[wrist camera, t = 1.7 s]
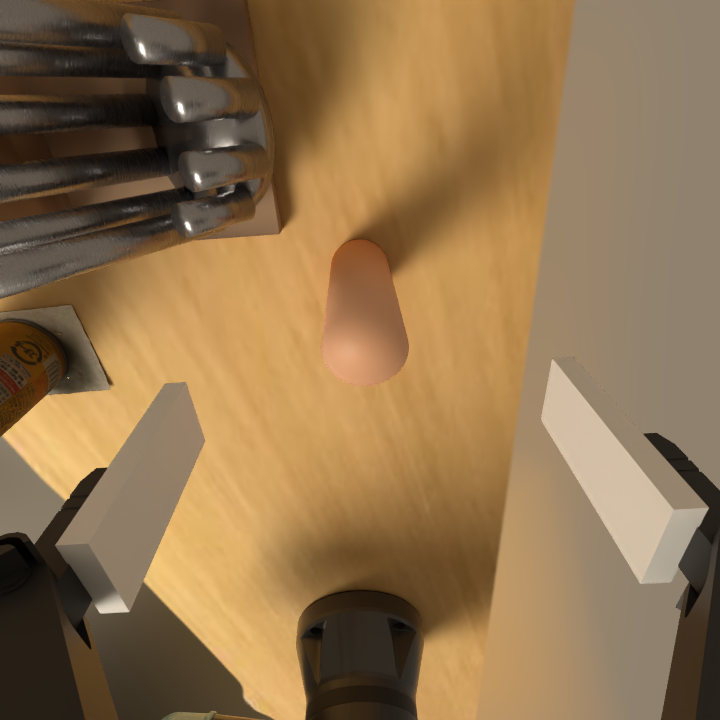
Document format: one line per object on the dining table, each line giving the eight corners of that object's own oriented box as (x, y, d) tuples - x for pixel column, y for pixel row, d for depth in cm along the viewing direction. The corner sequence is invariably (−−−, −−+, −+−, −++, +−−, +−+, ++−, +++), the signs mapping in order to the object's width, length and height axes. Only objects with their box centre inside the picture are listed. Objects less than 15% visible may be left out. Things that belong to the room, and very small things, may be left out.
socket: (298, 214, 28) (255, 296, 15) (62, 231, 28) (-169, 326, 16) (271, 18, 23) (176, -98, 10) (-15, 41, 23) (-448, -45, 11)
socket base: (282, 229, 29) (260, 266, 22) (46, 246, 29) (-51, 288, 22) (246, -2, 23) (200, -53, 16) (-51, 23, 23) (-226, -17, 16)
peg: (389, 292, 31) (409, 383, 21) (334, 296, 31) (326, 388, 21) (387, 237, 29) (408, 306, 19) (328, 241, 29) (316, 312, 19)
